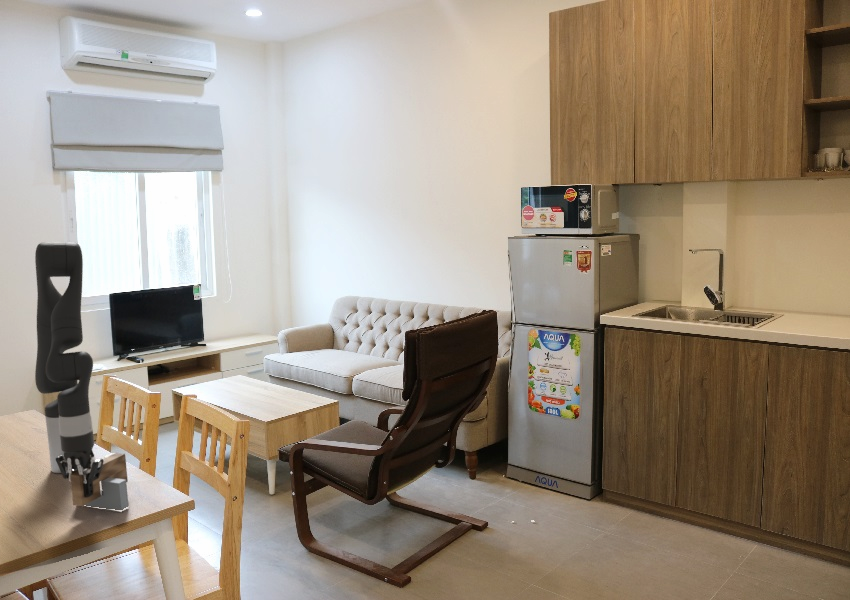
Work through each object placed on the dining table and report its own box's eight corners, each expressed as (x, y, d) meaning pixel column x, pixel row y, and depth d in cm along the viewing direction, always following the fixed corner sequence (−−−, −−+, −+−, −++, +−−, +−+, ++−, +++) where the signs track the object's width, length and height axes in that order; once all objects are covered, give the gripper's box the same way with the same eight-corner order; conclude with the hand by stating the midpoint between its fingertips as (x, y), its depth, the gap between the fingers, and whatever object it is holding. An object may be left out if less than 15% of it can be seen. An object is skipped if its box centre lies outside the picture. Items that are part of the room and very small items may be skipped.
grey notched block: (76, 505, 192) (73, 476, 190) (83, 501, 194) (81, 473, 193) (121, 512, 187) (119, 483, 185) (128, 508, 189) (126, 479, 188)
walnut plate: (118, 480, 198) (116, 452, 196) (127, 481, 197) (125, 453, 195) (73, 504, 183) (69, 474, 182) (82, 506, 182) (79, 476, 181)
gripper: (109, 428, 182) (115, 492, 185) (66, 423, 187) (73, 486, 190) (86, 437, 175) (93, 504, 178) (42, 432, 180) (49, 498, 183)
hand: (83, 495), depth 184 cm, fingers closed on walnut plate, 3 cm apart
